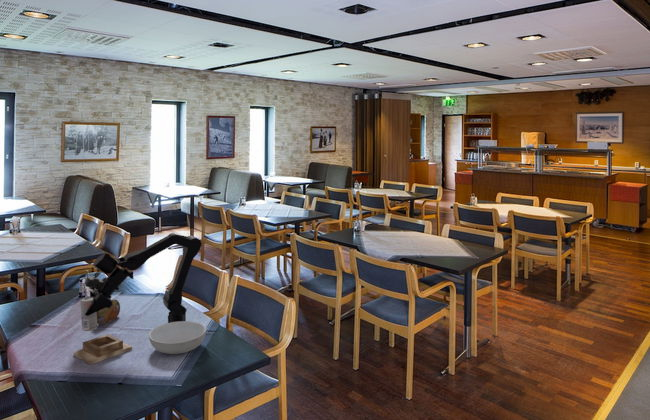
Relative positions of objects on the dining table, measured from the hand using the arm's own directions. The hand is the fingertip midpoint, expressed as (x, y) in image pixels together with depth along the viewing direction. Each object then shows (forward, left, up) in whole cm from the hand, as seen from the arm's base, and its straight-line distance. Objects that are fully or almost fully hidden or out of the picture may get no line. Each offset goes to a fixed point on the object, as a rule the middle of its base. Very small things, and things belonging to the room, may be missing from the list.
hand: (84, 313), depth 187 cm
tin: (+7, -22, -13) cm, 27 cm away
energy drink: (-1, -1, -7) cm, 7 cm away
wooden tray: (-11, +6, -12) cm, 17 cm away
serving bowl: (-36, -4, -13) cm, 39 cm away
